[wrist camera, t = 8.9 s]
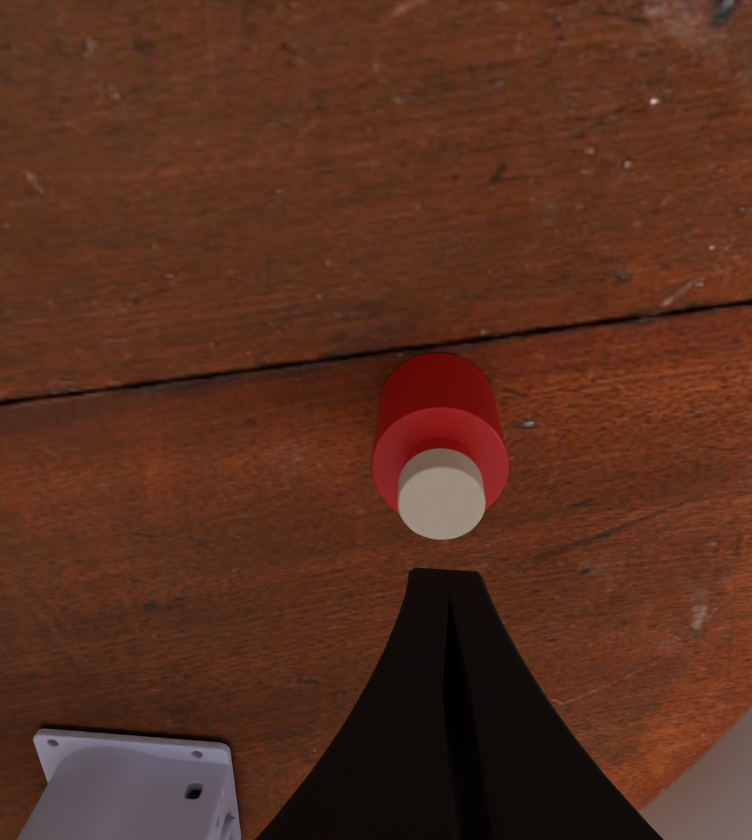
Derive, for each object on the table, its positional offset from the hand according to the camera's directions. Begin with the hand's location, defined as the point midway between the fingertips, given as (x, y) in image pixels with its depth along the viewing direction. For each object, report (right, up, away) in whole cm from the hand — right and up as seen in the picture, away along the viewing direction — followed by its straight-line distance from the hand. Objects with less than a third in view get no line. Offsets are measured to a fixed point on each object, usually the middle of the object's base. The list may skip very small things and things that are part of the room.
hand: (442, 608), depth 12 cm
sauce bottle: (+1, +4, +8) cm, 9 cm away
